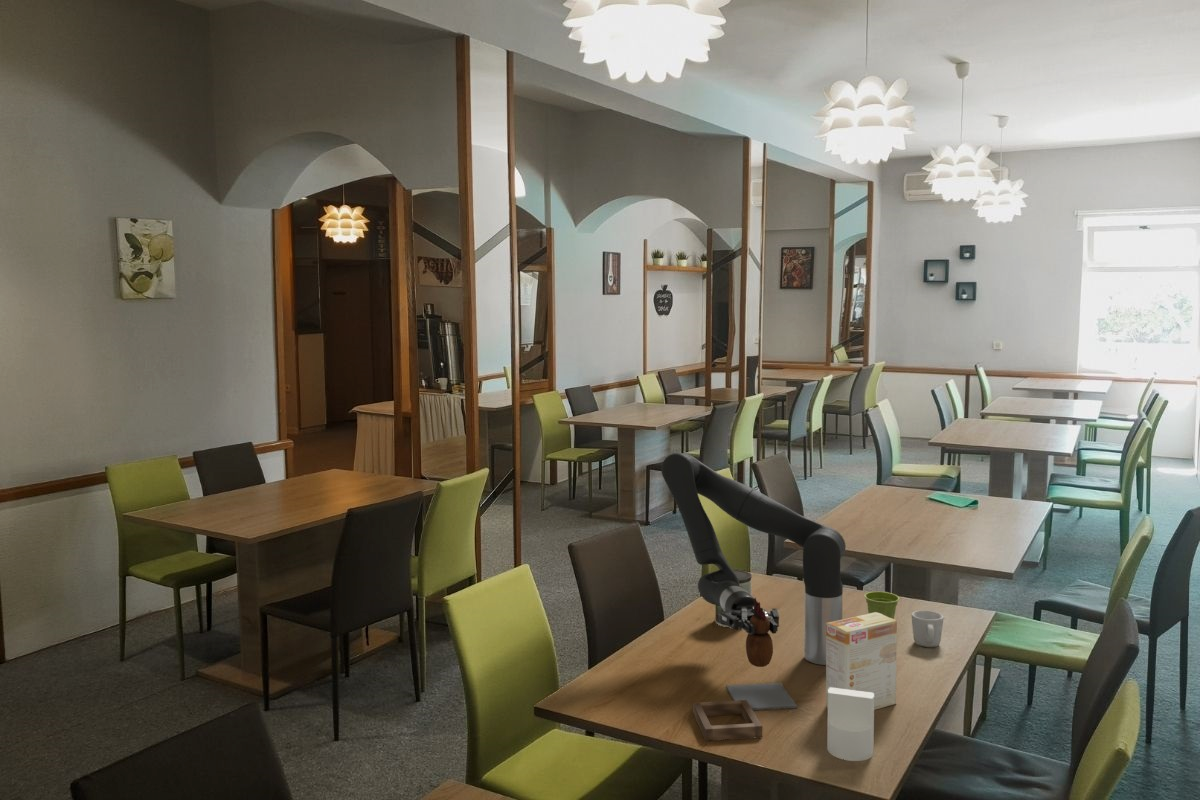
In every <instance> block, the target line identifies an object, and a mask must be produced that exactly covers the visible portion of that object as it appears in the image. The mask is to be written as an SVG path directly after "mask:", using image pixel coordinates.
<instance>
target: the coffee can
mask: <svg viewBox="0 0 1200 800" xmlns="http://www.w3.org/2000/svg"><path fill="white" fill-rule="evenodd" d="M732 570H733V571H734V572H735V574H736V576H737V577H738V580H739V586H740V587H741V588H742V589H744V590H746V591H747V592H748V593H749V594H750V595H751V596H752V577H753V575H752V573H750V572H749V571H745V570H742V569H732ZM722 612H724V611H723V609H722V608H721V607H720V606H717V605H715V621H714V622H716V623H717V624H718V625H717V624H716V623H715V624H716V625H717V626H719V625H721V626H725V627H729V626H727V625H726V624H724V623H722ZM721 626H720V627H721ZM725 627H724V628H725Z"/></svg>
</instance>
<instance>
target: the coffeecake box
mask: <svg viewBox="0 0 1200 800" xmlns="http://www.w3.org/2000/svg"><path fill="white" fill-rule="evenodd" d="M897 622H898V620H896V619H895V618H894V619H892V618H889V617H887V616H884V615H883V614H880V613H877V612H874V613H869V614H868V613H866V614H861V615H857V616H851V617H849V618H848V617H847V618H844V619H843V618H842V620H838V621H834V622H829V623H826V665H825V679H826V680H825V707H826V708H827V709H828V689H829V688H830V687H833V688H841V689H848V690H856V691H864V692H872V693H874V711H875V710H878V709H883V708H885V707H890V706H893V705H897V641H898V639H897V637H898V636H897V630H898V627H897V626H898V623H897Z"/></svg>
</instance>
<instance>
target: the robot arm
mask: <svg viewBox="0 0 1200 800" xmlns="http://www.w3.org/2000/svg"><path fill="white" fill-rule="evenodd" d="M660 468H661V469H660V470H661V475H662V478H663V480H664V481H665V483H666V486H667V488H668V489H669V491H670V494H671V495H672V497H673V499H674V501H675V504H676V506H677V508H678V512H679V514H680V516H681V518H682V522H683V524H684V526H685V530H686V533H687V535H688V539H689V542H690V545H691V548H692V551H693V554H694V557H695V561H696V562H697V564H698V565H701V566H704V565H713V566H716V567H717V568H718V569H719V570H715V571H712V572H709V573H706V574H704V575H701V576H700V578H699V579H698V582H697V590H698V593H699V594H700V596H701V598H702V599H703V600H705V601H706V603H709V604H712V605H714V606H716V605H717V606H720V607H721V608H722V609H723V611H724V612H722V623H724V624H726V625H727V626H729V627H731V628H730V629H732V630H734V631H737V630H739V629H741V630H742V631H745V632H746V633H747V634H748V633H749V634H750V635H754V625H753V624H752V623H751V622H750V619H751V618H752V616H754V599H755V598H754V596H753V595H752V594H751V595H750V594H749V593H748V592H747V591H746V590H744V589H742V588H741V587H740V586H739V580H738V577H737V576H736V574H735V572H734V571H733V570H734V569H733V568H732V567H731V565H730V564H729V562H728V560H727V559H726V557H725V555H724V553H723V551H722V549H721V546H720V543H719V542H720V541H719V540H718V536H717V534H716V531H715V529H714V527H713V524H712V522H711V519H710V518H709V516H708V514H707V513H706V511H705V509H704V506H703V504H702V502H701V500H700V497H699V495H700V496H702V497H704V498H706V499H708V500H710V501H711V502H712V503H714V504H715V505H716V506H717V507H718V508H719V509H721V510H722V511H723V512H725V513H726V514H727V515H729V516H730V517H731V518H733V519H734V520H736V521H738V522H740V523H742V524H743V525H746V526H747V527H749V528H751V529H753V530H756V531H758V532H762V533H765V534H768V535H773V536H777V537H781V538H784V539H787V540H789V541H791V542H793V543H795V544H796V545H798V546H800V547H801V548H802V575H803V576H802V578H803V583H804V650H803V651H804V659H805V660H806V661H808V662H809V663H813V664H816V665H822V666H826V623H829V622H834V621H838V620H843V593H844V590H843V588H844V587H843V583H842V579H841V559H842V558H843V556H844V554H845V552H846V541H845V539H844V536H842V535H841V533H840V532H838V531H837V529H835V528H833V527H830V526H828V525H825V524H822V523H820V522H817V521H815V520H812V519H810V518H808V517H806V516H803V515H801V514H799V513H798V512H796V511H794V510H792V509H791V508H789V507H787V506H786V505H783V504H782V503H780V502H778V501H776V500H774V499H772V498H771V497H769V496H767V494H766V495H765V494H764V493H762V492H760V491H758V490H756V489H754V488H752V487H751V486H747V485H746V484H744V483H742V482H739V481H737V480H735V479H732V478H729V477H727V476H724V475H722V474H721V473H718V472H717V471H715V470H713V469H712V468H710V467H709V466H707V465H706V464H704V463H703V462H702V461H700V460H699V459H697V458H696V457H694V456H693V455H692V454H691V455H690V454H688V453H683V452H675V453H671V454H669V455H667V457H665V458H664V460H663V461H662V463H661V467H660ZM758 602H759V601H757V606H758ZM763 612H765V616H766V617H767V618H768V619H769V622H770V629H769V631H770V632H771V633H772V634H777V632H778V631H779V630H778V628H779V627H780V622H779V621H780V615H779V612H778V609H777V608H771V610H769V611H766V610H765V608H763Z"/></svg>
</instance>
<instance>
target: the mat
mask: <svg viewBox="0 0 1200 800" xmlns="http://www.w3.org/2000/svg"><path fill="white" fill-rule="evenodd" d="M726 689H727V691H728V693H729V695H730V697H731V698H732V701H737V700H747V702H748V703H749V705H750V707H751V708H752V710H753V711H763V710H762V709H771V710H781V709H780V708H784V710H785V709H786V710H787V708H788V709H797V708H798V705H797V704H796V702H795V701H794V700H793V698H792V697H791V695H790V694H789V693H788V691H787V690H786V688H785V687H784V686H783V685H782V683H781V682H769V683H752V684H751V683H750V684H747V683H746V684H732V685H726Z"/></svg>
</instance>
